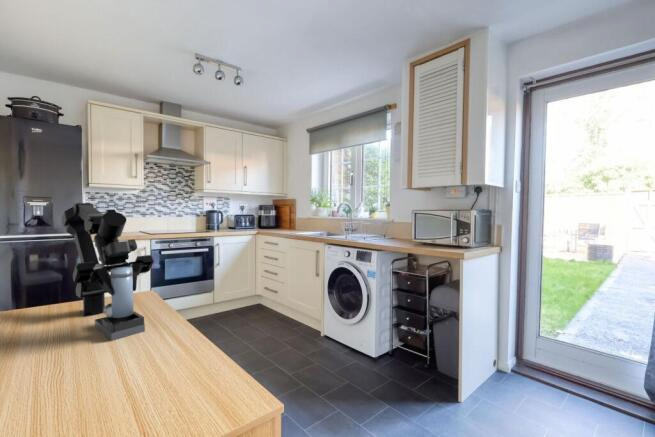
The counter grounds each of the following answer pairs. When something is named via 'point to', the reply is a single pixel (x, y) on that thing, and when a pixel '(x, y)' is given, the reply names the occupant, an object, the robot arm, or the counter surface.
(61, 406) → the counter surface
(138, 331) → the dark grey open box
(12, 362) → the counter surface
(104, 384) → the counter surface
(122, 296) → the dome-capped cylinder
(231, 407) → the counter surface
